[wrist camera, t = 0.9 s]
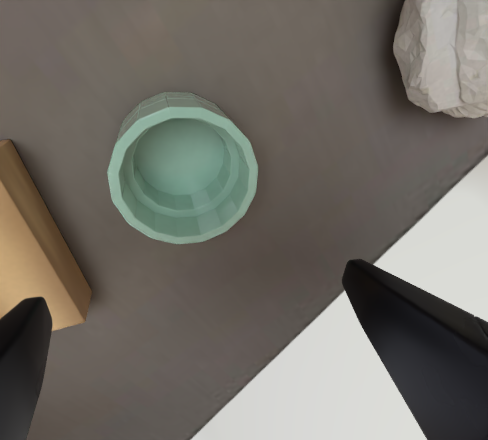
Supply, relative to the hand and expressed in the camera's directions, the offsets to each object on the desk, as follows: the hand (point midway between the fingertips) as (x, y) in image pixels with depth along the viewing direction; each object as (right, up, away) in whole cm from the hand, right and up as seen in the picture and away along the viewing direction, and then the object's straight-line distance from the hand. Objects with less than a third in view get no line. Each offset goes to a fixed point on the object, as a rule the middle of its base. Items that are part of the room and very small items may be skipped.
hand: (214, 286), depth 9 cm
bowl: (-3, +6, +10) cm, 13 cm away
